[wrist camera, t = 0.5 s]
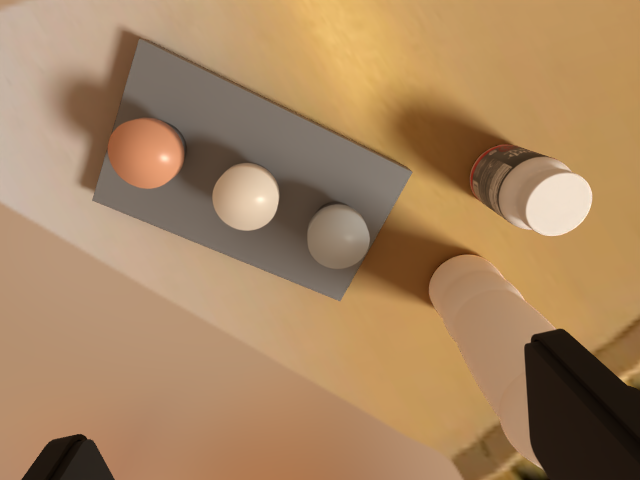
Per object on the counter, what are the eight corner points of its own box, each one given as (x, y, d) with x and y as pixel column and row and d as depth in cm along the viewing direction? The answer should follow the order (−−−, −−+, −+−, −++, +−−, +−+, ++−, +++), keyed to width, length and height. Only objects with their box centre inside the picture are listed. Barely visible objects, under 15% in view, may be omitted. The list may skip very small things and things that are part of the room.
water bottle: (428, 254, 41) (590, 489, 17) (499, 249, 41) (755, 478, 18) (425, 315, 43) (563, 591, 20) (492, 311, 43) (706, 582, 20)
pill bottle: (539, 151, 37) (616, 175, 28) (514, 210, 39) (578, 250, 30) (480, 136, 37) (539, 156, 27) (458, 197, 39) (506, 234, 29)
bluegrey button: (323, 194, 34) (324, 200, 32) (377, 219, 34) (380, 226, 33) (297, 246, 35) (297, 254, 33) (349, 268, 36) (352, 277, 34)
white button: (230, 152, 32) (226, 156, 30) (289, 179, 33) (288, 184, 31) (208, 208, 34) (203, 215, 32) (265, 232, 35) (262, 240, 33)
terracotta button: (128, 105, 31) (118, 107, 29) (193, 135, 31) (187, 138, 30) (110, 166, 32) (99, 171, 30) (172, 193, 33) (165, 199, 31)
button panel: (148, 40, 33) (132, 36, 30) (407, 167, 37) (416, 175, 34) (102, 194, 38) (84, 204, 34) (338, 291, 42) (341, 308, 39)
